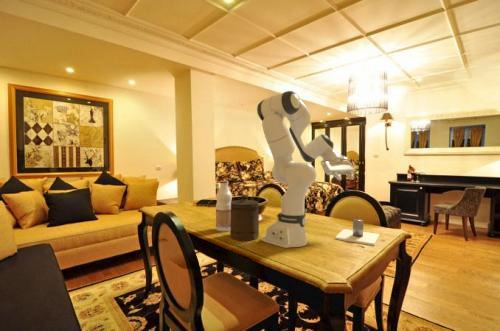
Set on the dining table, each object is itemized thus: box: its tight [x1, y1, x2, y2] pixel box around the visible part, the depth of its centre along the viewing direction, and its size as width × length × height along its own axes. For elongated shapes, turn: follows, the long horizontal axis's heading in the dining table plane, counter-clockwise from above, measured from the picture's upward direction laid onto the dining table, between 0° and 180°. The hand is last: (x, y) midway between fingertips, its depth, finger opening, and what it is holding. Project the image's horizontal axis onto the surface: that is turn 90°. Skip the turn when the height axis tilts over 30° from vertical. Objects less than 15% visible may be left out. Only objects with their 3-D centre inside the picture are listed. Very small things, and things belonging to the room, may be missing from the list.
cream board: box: [334, 228, 380, 246], centre depth 130 cm, size 18×18×1 cm
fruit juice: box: [215, 180, 233, 232], centre depth 144 cm, size 9×9×28 cm
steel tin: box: [352, 218, 364, 237], centre depth 130 cm, size 5×5×8 cm
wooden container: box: [229, 194, 260, 242], centre depth 131 cm, size 15×15×22 cm
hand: (346, 179), depth 135 cm, fingers open, 8 cm apart
